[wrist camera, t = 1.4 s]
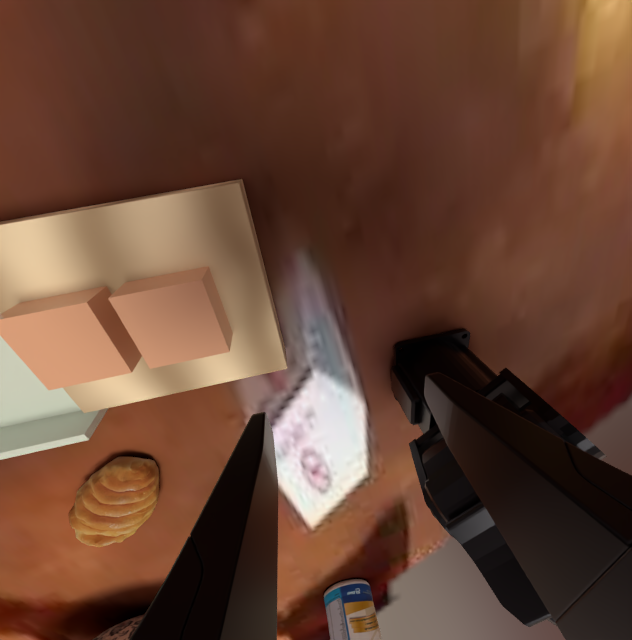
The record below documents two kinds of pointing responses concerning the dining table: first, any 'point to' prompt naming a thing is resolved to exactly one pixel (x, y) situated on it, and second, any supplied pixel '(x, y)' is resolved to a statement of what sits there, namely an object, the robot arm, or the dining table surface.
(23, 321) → the tile
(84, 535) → the pastry
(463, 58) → the dining table surface
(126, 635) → the ceramic bowl
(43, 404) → the tray
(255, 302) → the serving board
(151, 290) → the tile
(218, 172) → the dining table surface
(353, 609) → the beverage bottle
